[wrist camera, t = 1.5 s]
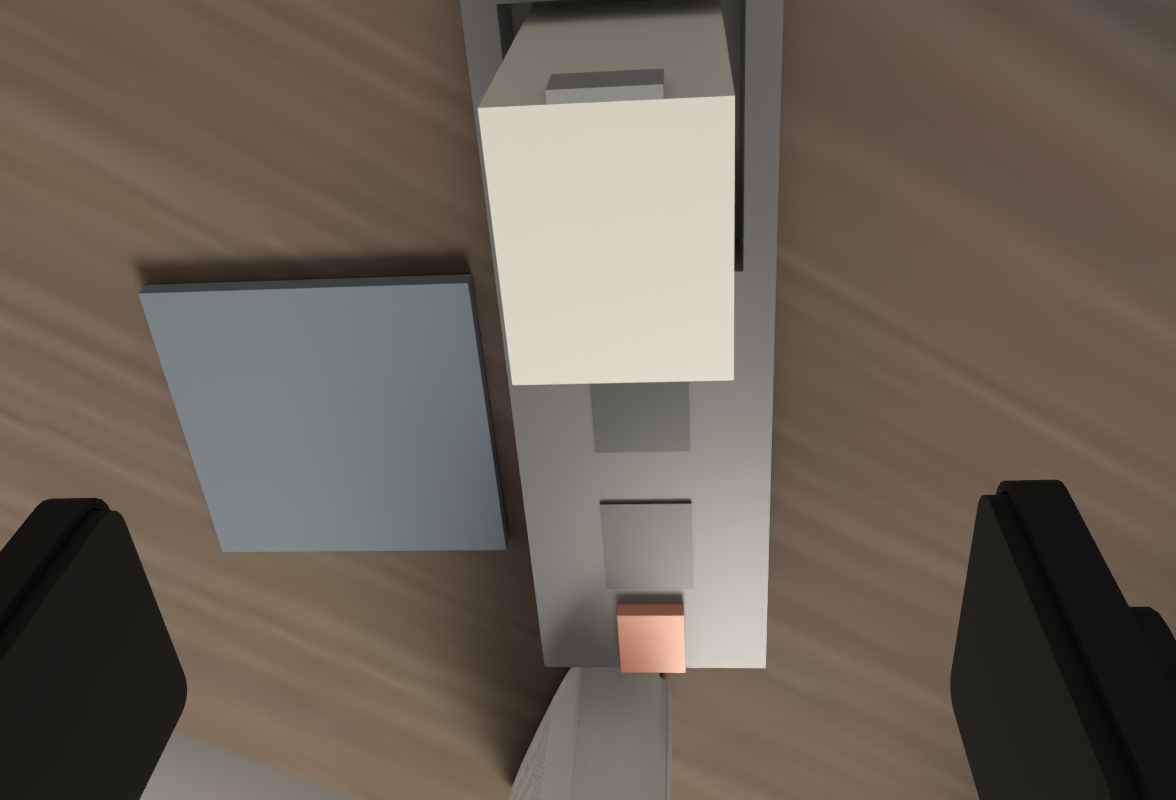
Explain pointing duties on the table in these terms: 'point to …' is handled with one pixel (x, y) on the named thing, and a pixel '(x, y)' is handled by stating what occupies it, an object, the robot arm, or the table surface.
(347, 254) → the table surface
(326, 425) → the mat
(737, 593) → the power strip
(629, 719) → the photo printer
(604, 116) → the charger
